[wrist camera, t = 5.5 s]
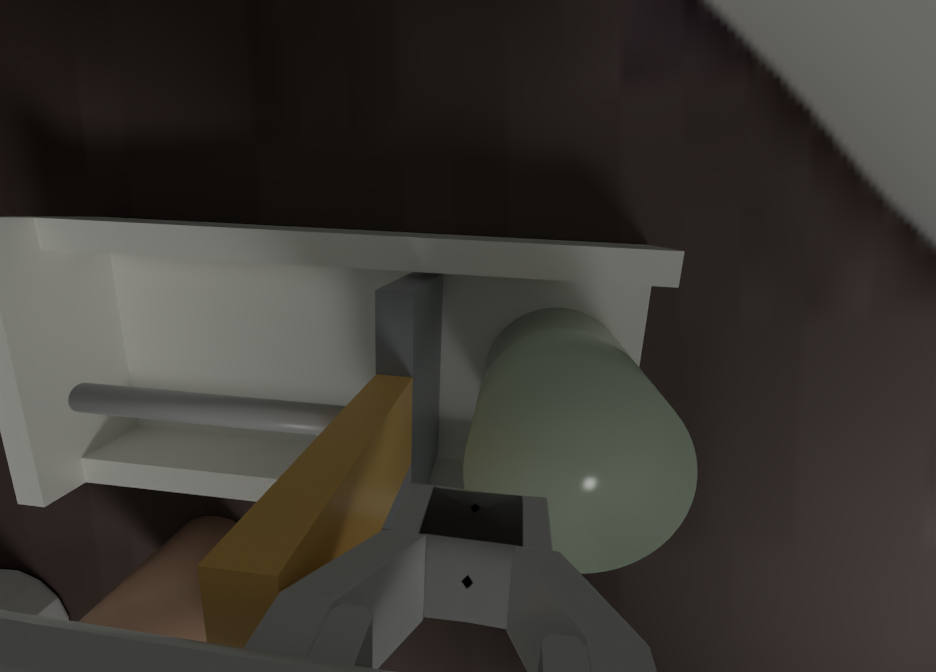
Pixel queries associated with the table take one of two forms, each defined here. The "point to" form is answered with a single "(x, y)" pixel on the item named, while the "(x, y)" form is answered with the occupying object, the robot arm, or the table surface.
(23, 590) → the white cup
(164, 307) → the tray
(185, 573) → the terracotta jar
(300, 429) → the pusher
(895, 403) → the table surface
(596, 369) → the green jar
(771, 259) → the table surface
